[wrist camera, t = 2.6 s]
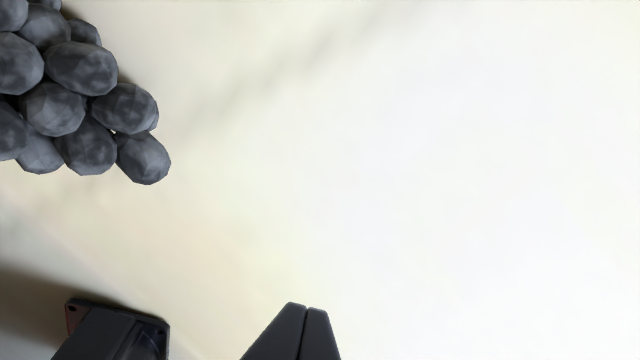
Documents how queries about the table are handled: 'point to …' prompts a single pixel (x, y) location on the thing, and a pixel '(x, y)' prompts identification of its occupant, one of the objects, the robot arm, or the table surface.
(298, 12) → the table surface
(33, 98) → the fruit
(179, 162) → the table surface
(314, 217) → the table surface
